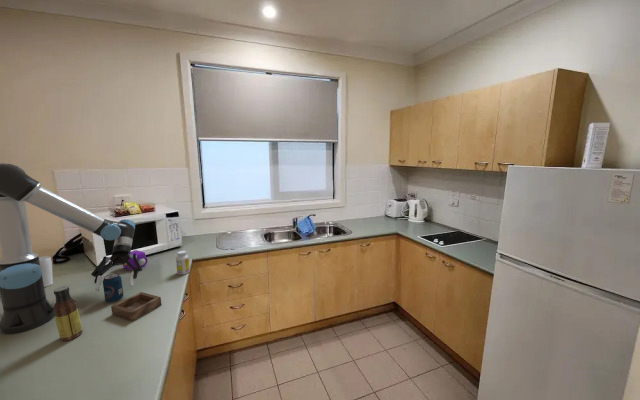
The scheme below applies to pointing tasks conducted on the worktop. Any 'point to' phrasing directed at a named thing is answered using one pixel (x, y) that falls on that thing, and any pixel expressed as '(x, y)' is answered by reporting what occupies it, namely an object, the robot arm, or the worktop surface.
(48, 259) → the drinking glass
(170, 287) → the worktop surface
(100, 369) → the worktop surface
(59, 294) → the sauce bottle
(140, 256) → the toy camera
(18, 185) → the robot arm
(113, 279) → the soda can
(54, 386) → the worktop surface
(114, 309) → the brown wooden shallow tray
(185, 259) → the supplement bottle
